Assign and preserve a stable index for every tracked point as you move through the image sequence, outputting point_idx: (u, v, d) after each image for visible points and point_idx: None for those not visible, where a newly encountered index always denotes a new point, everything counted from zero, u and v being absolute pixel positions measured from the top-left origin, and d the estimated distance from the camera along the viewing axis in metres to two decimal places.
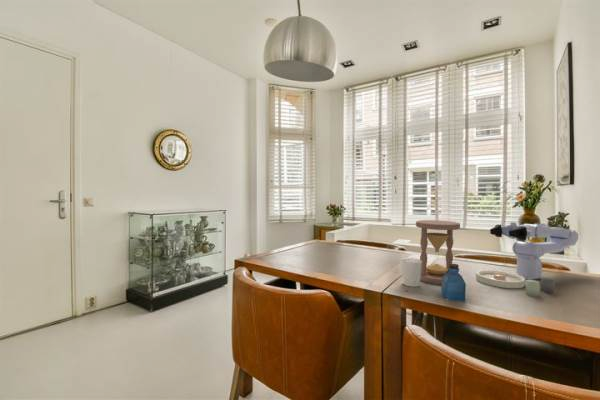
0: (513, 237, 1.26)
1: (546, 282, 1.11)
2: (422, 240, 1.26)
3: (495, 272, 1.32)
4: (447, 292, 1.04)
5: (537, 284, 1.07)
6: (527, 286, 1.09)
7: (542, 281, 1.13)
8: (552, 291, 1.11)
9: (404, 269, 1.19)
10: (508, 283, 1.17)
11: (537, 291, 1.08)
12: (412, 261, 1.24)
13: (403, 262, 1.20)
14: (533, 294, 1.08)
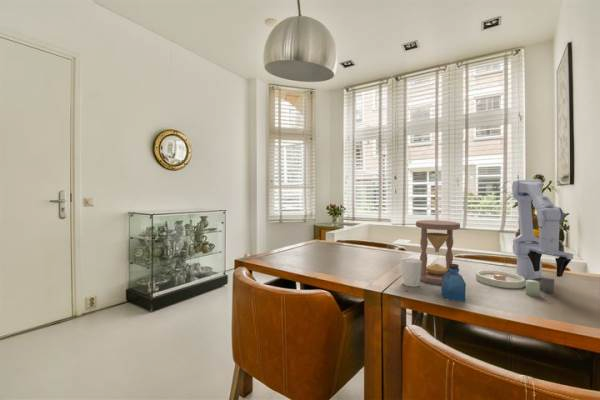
0: None
1: (546, 282, 1.11)
2: (422, 240, 1.26)
3: (495, 272, 1.32)
4: (447, 292, 1.04)
5: (537, 284, 1.07)
6: (527, 286, 1.09)
7: (542, 281, 1.13)
8: (552, 291, 1.11)
9: (404, 269, 1.19)
10: (508, 283, 1.17)
11: (537, 291, 1.08)
12: (412, 261, 1.24)
13: (403, 262, 1.20)
14: (533, 294, 1.08)
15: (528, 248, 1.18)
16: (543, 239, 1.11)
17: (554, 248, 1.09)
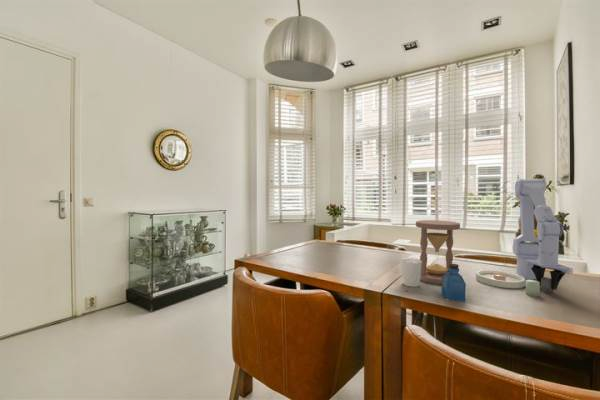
0: None
1: (546, 282, 1.11)
2: (422, 240, 1.26)
3: (495, 272, 1.32)
4: (447, 292, 1.04)
5: (537, 284, 1.07)
6: (527, 286, 1.09)
7: (542, 281, 1.13)
8: (552, 291, 1.11)
9: (404, 269, 1.19)
10: (508, 283, 1.17)
11: (537, 291, 1.08)
12: (412, 261, 1.24)
13: (403, 262, 1.20)
14: (533, 294, 1.08)
15: (528, 261, 1.18)
16: (543, 253, 1.12)
17: (554, 263, 1.10)
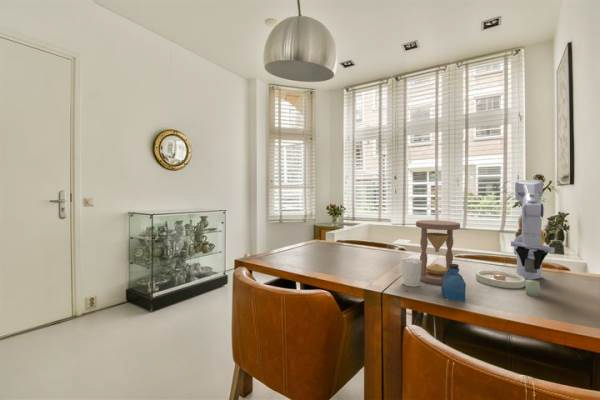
0: None
1: (530, 262, 1.15)
2: (422, 240, 1.26)
3: (495, 272, 1.32)
4: (447, 292, 1.04)
5: (537, 284, 1.07)
6: (527, 286, 1.09)
7: (526, 261, 1.16)
8: (535, 271, 1.14)
9: (404, 269, 1.19)
10: (508, 283, 1.17)
11: (537, 291, 1.08)
12: (412, 261, 1.24)
13: (403, 262, 1.20)
14: (533, 294, 1.08)
15: (512, 243, 1.21)
16: (526, 234, 1.15)
17: (537, 243, 1.13)
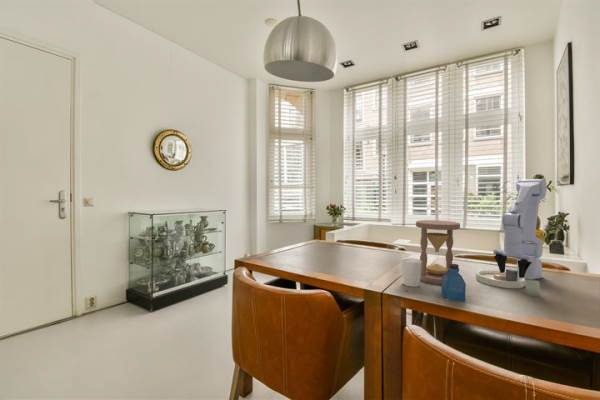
0: None
1: (510, 273, 1.19)
2: (422, 240, 1.26)
3: (495, 272, 1.32)
4: (447, 292, 1.04)
5: (537, 284, 1.07)
6: (527, 286, 1.09)
7: (507, 273, 1.20)
8: None
9: (404, 269, 1.19)
10: (508, 283, 1.17)
11: (537, 291, 1.08)
12: (412, 261, 1.24)
13: (403, 262, 1.20)
14: (533, 294, 1.08)
15: (495, 251, 1.26)
16: (507, 243, 1.19)
17: (517, 251, 1.17)
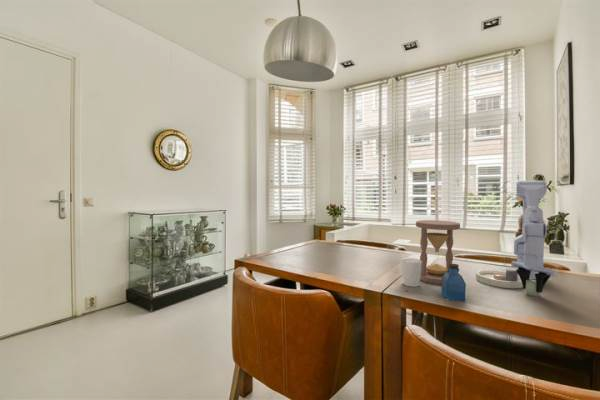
0: None
1: (510, 273, 1.19)
2: (422, 240, 1.26)
3: (495, 272, 1.32)
4: (447, 292, 1.04)
5: None
6: (527, 286, 1.09)
7: (507, 273, 1.20)
8: None
9: (404, 269, 1.19)
10: (508, 283, 1.17)
11: None
12: (412, 261, 1.24)
13: (403, 262, 1.20)
14: (533, 294, 1.08)
15: (513, 263, 1.15)
16: (527, 255, 1.08)
17: (539, 265, 1.06)
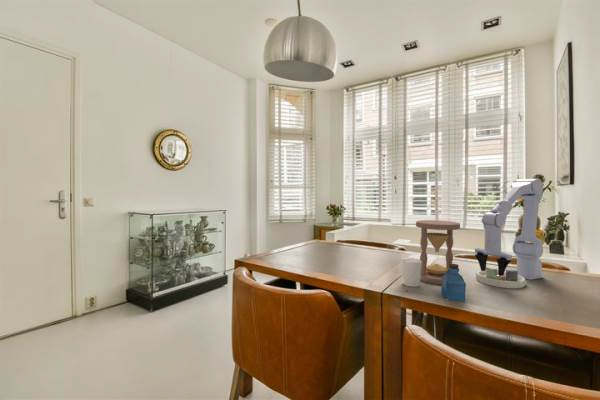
0: None
1: (510, 273, 1.19)
2: (422, 240, 1.26)
3: None
4: (447, 292, 1.04)
5: (495, 271, 1.21)
6: (487, 273, 1.23)
7: (507, 273, 1.20)
8: None
9: (404, 269, 1.19)
10: (508, 283, 1.17)
11: (495, 277, 1.21)
12: (412, 261, 1.24)
13: (403, 262, 1.20)
14: None
15: (476, 249, 1.28)
16: (487, 241, 1.22)
17: (496, 250, 1.20)
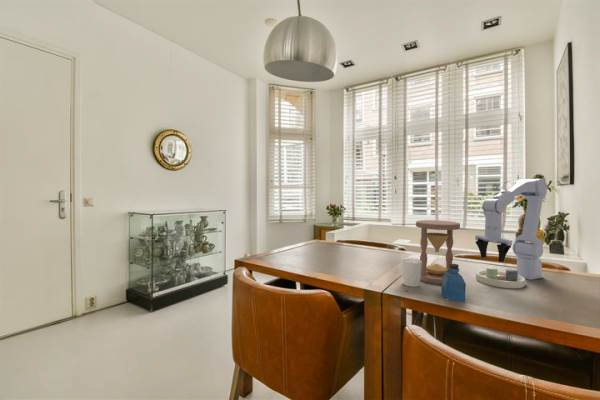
0: None
1: (510, 273, 1.19)
2: (422, 240, 1.26)
3: None
4: (447, 292, 1.04)
5: (495, 271, 1.21)
6: (487, 273, 1.23)
7: (507, 273, 1.20)
8: None
9: (404, 269, 1.19)
10: (508, 283, 1.17)
11: (495, 277, 1.21)
12: (412, 261, 1.24)
13: (403, 262, 1.20)
14: None
15: (476, 236, 1.28)
16: (487, 228, 1.22)
17: (497, 236, 1.20)
